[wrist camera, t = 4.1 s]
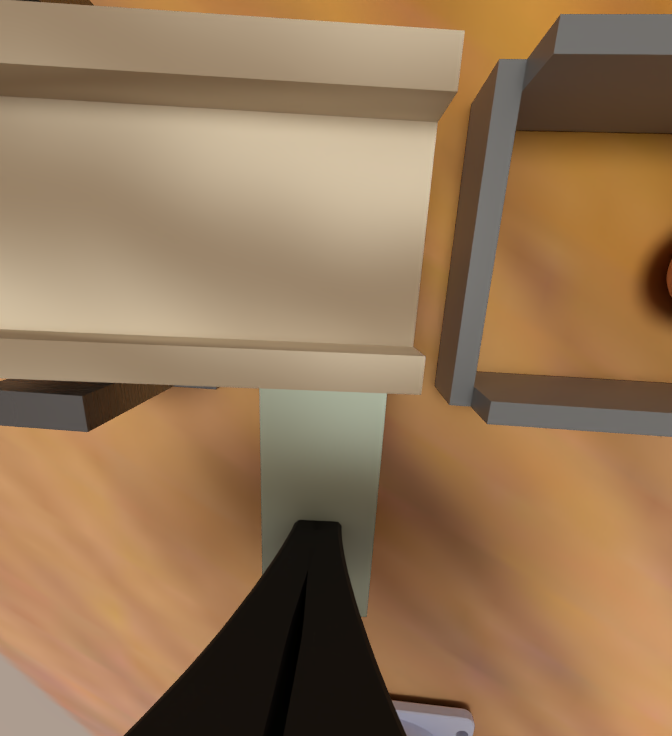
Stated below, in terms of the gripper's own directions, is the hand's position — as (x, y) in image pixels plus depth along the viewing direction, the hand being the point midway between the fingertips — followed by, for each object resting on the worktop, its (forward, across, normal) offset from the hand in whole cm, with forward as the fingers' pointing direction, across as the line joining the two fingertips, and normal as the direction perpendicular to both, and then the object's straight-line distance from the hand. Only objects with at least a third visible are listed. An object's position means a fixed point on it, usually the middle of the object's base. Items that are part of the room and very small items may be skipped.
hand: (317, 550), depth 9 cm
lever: (0, +6, -4) cm, 7 cm away
